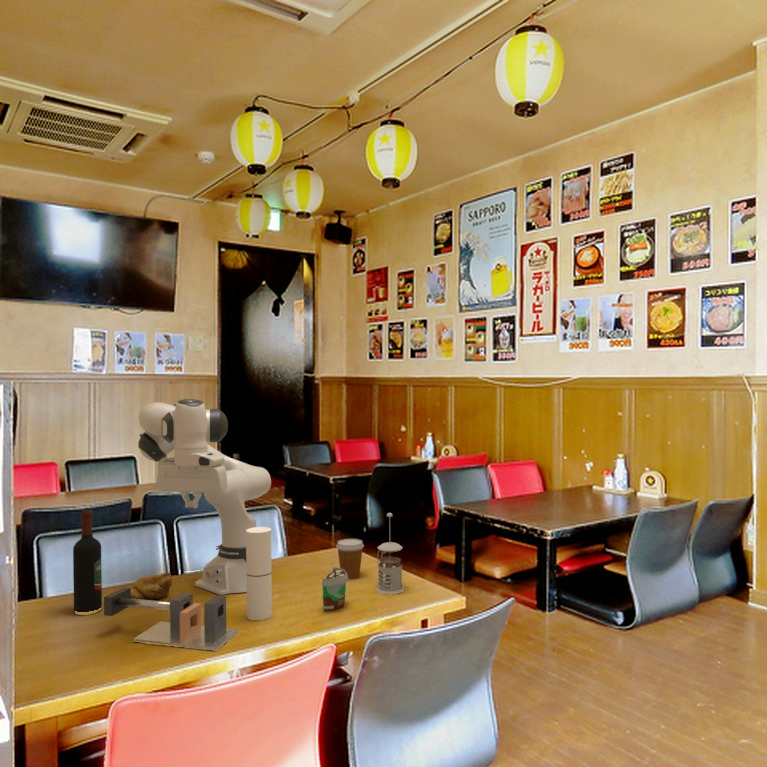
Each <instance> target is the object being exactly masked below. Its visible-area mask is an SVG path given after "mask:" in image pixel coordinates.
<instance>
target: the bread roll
mask: <svg viewBox="0 0 767 767" xmlns="http://www.w3.org/2000/svg"><path fill="white" fill-rule="evenodd" d="M172 585H173V577H172V575H171V572H165V573H160V574H152V575H149V576H148V577H147V576H145V577H139V578H137V579H136V580H135V582H134V583H133V587H132V588H133V589H131V599H141V600H152V601H155V600H154V599H157V600H161V599H163V597H164V598H165V597H167V596H168V595H169V593H170V588H171V587H172ZM160 598H161V599H160Z"/></svg>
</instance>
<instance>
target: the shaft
mask: <svg viewBox="0 0 767 767" xmlns="http://www.w3.org/2000/svg"><path fill="white" fill-rule="evenodd" d="M131 591H132V588H131V587H125V586H122V587H120V588H119V589H117V590H114V591H113V592H110V593H109V594H107V595H104V596H103V616H104V617H105V616H106V617H113V616H115V615H116V614H118V613H120V612H122V611H123V610H126V609H127V608H129V607H133V608H142V609H143V608H144V609H155V610H166V611H170V601H161V600H160V601H159V600H141V599H131Z"/></svg>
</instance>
